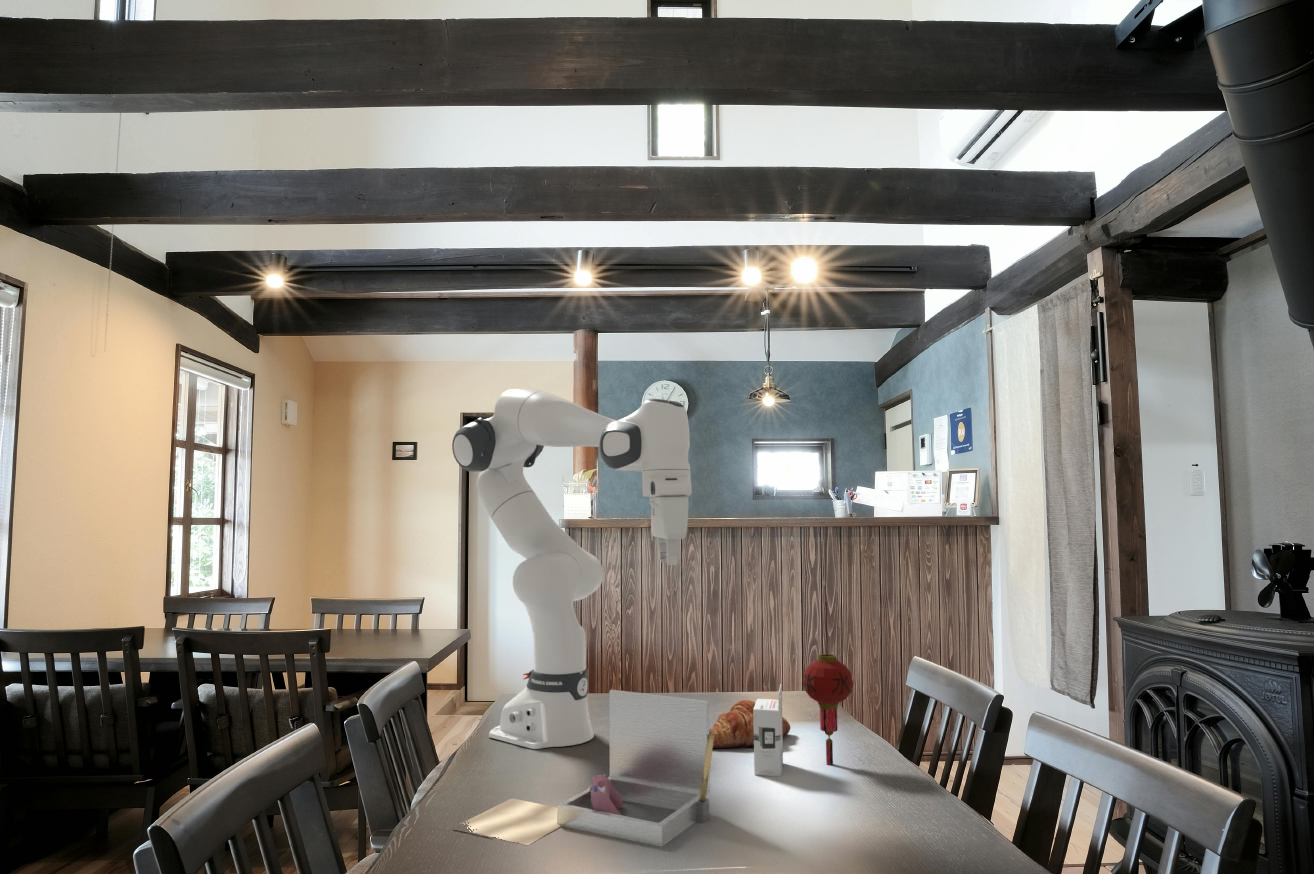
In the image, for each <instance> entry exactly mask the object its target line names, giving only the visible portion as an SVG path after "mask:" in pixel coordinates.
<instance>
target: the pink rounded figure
mask: <svg viewBox="0 0 1314 874" xmlns="http://www.w3.org/2000/svg"><path fill="white" fill-rule="evenodd" d="M608 777H609V776H606V773H605V774H599V773H598V774H596V775H594V776H592V777H591V785H589V787H588V788H589V791H590V792H591V801H592V805H593V807H594V809H593V810H597V811H602V812H607V813H612V814H617V815H622V814H621V812H620V811H619V810H618V809H621V808H622V807H623V804H624V801H623V800H622V797H621V795H620V794H619V793H618V792H617V790H616V789H615V788H614V787H613V786H612V784H611V782H610V780H609V779H608ZM591 786H592V787H591Z"/></svg>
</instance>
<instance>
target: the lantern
mask: <svg viewBox="0 0 1314 874" xmlns="http://www.w3.org/2000/svg"><path fill="white" fill-rule="evenodd" d="M827 602H828V601H825V603H824V604H825V606H824V607H825V609H824V610H825V638H826V640H825V644H826V645H825V647H826V649H825V650H826V651H825V652H826V653H822V654H821V653H819V654H818V655H817V656H818V657H817V659H816V660H814V661H812V662H811V663H809V664H808V666H807V667H806V669H804V673H803V678H802V683H803V688H804V691H805V692H806V694H807V695H808V696H809V698H810V699H812V700H814V701H815V702H817V704H818V707H819V719H820V720H819V725H820V728H819V729H820V731H821V732H824V733H825V735H826V736H828V738H826V740H825V749H826V750H825V753H826V754H825V755H826V756H825V757H826V759H825V762H826V765H829V766H832V765H834V749H833V747H834V746H833V742H834V741H833V740H832V738H831V736H832V735H833V734H834V733H835V732H837V731H838V706H839V704H840V703H841V702H843V701H845V700H847V699H848V697H849V696H850V694H851V693H852V691H853V686H854V681H853V677H852V672H851V670H850V669H849V668H848V667H847V666H846V664H845V663H843V662H840V661H839V660H838V658H837V655H835V654H832V653H829V649H828V648H829V647H828V645H829V643H828V608H827V607H828V605H827Z"/></svg>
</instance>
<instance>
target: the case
mask: <svg viewBox="0 0 1314 874" xmlns="http://www.w3.org/2000/svg"><path fill="white" fill-rule="evenodd" d="M709 729H710V701H709V700H703V699H702V700H701V699H696V698H695V699H694V698H685V697H677V696H669V695H659V694H652V693H645V692H634V691H626V690H619V689H610V690H609V776H607V777H608V779H609V780H610V782H611V784H612V786H613V787H614V788H615V789H616V790H617V792H618V793H619V794H620V795H621V797H622V800H623V802H630V803H635V804H640V805H646V806H651V807H656V808H662V809H668V810H673V812H672V813H670V814H669V815H668V816H667V817H666V818H663V820H661V821H659V822H656V821H652V820H650V821H649V820H647V819H646V820H645V819H641V818H635V817H630V816H627V815H622V814H621V815H617V814H612V813H607V812H602V811H597V810H594V807H593V805H592V801H591V792H590V791H589V787H588V788H586V789H584V790H582V791H581V792H578V793H577V794H575V795H573V796H572V797H570V798H568V799H566V800H564V801H562V802H561V803H558V804H557V805H556V807H557V824H561V825H563V826H562V827H565V828H570V829H575V830H580V831H583V832H589V833H593V834H599V835H603V836H607V837H612V838H618V839H622V840H627V841H628V840H629V841H633V842H637V843H641V844H648V845H652V846H658V847H664V846H665V845H666V844H667V843H670V842H671V841H672V840H673V839H675V838H676V837H677V836H679V835H680V834H681V833H683V832H685V830H687V829H688V828H690V827H691V826H692V825H694V824H695V823H701V824H704V823H705V822H707V821H708V820H709V819H710V812H709V811H710V799H709V798H708V794H709V793H710V792H711V764H712V757H713V749H714V748H713V743H714V735H713V734H709ZM590 786H591V787H592V785H590Z"/></svg>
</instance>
